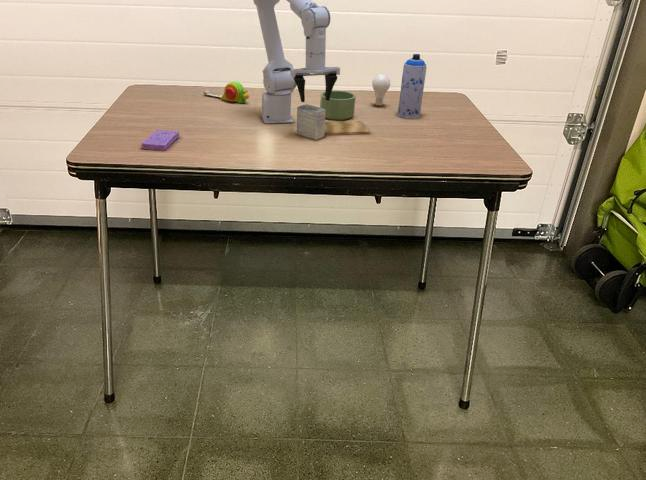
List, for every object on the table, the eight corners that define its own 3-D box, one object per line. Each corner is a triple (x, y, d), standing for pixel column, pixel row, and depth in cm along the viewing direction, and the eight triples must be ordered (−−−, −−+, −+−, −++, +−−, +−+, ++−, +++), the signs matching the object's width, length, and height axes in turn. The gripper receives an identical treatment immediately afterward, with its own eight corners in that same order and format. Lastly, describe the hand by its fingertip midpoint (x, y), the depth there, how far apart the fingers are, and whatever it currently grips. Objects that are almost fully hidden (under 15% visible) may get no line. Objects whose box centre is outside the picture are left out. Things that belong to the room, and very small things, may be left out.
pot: (323, 121, 200) (325, 100, 196) (316, 111, 209) (317, 90, 206) (357, 120, 201) (359, 99, 198) (349, 110, 211) (350, 90, 207)
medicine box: (324, 137, 186) (326, 109, 181) (315, 140, 183) (316, 112, 178) (305, 131, 190) (306, 103, 186) (295, 134, 188) (296, 106, 183)
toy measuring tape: (243, 105, 212) (242, 86, 209) (199, 96, 221) (199, 77, 218) (253, 101, 217) (253, 82, 214) (210, 92, 226) (210, 74, 223)
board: (325, 135, 188) (325, 132, 187) (318, 124, 197) (318, 121, 197) (369, 133, 190) (369, 131, 189) (360, 123, 199) (360, 120, 199)
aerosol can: (413, 111, 212) (421, 51, 202) (424, 117, 206) (433, 56, 196) (393, 112, 210) (400, 52, 200) (403, 119, 204) (411, 57, 194)
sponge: (179, 137, 182) (178, 131, 182) (165, 151, 172) (164, 144, 171) (156, 135, 183) (156, 129, 182) (141, 149, 173) (140, 142, 172)
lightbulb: (382, 109, 214) (385, 77, 208) (366, 106, 217) (369, 74, 211) (391, 105, 218) (394, 74, 212) (375, 102, 221) (378, 71, 215)
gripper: (294, 55, 170) (294, 105, 177) (343, 53, 173) (342, 102, 179) (288, 52, 176) (289, 100, 183) (336, 50, 179) (335, 97, 185)
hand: (315, 100), depth 181 cm, fingers open, 7 cm apart
